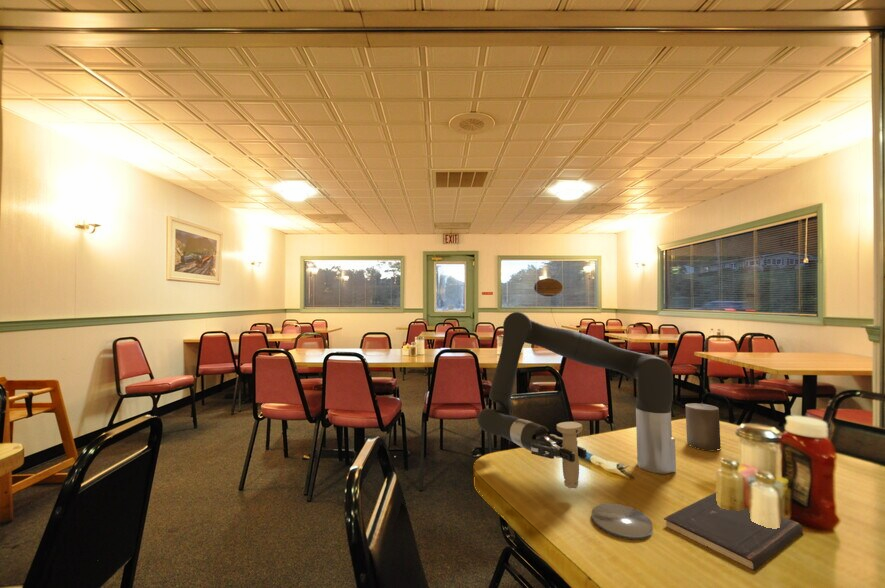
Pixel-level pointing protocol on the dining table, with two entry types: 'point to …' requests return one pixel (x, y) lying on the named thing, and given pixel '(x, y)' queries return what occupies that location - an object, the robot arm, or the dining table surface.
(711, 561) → the dining table surface
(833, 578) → the dining table surface
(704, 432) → the pillar candle
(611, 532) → the disk
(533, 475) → the dining table surface
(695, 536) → the hardcover book
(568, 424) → the handle
